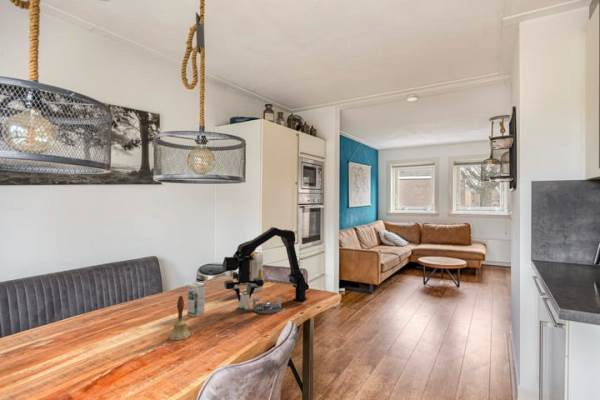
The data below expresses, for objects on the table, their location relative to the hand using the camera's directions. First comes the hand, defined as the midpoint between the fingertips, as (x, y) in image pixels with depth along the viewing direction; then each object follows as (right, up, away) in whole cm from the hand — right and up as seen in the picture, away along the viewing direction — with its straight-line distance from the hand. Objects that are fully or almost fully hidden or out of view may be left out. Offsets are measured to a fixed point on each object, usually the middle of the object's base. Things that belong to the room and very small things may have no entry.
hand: (243, 300), depth 158 cm
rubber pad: (0, -5, 0) cm, 5 cm away
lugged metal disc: (+12, -5, +1) cm, 12 cm away
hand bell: (-20, -4, -32) cm, 38 cm away
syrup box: (-21, -4, -7) cm, 23 cm away
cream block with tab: (0, -3, 0) cm, 3 cm away
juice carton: (0, -5, +33) cm, 33 cm away
